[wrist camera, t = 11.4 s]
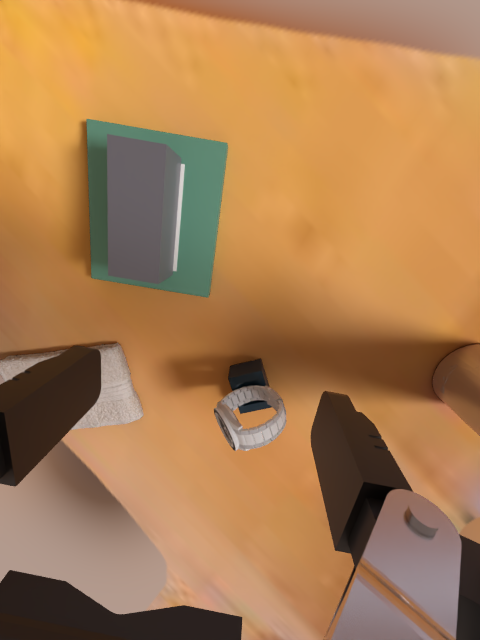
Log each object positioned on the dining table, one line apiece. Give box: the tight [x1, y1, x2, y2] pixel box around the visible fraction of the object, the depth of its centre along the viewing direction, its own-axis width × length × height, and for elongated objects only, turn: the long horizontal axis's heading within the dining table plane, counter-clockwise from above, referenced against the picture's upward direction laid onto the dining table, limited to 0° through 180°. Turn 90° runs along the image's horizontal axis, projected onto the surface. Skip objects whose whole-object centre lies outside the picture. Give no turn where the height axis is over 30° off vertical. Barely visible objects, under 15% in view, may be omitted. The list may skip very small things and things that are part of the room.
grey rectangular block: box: [107, 134, 181, 284], centre depth 27 cm, size 12×5×5 cm, turn 171°
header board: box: [87, 119, 228, 297], centre depth 28 cm, size 14×16×5 cm
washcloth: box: [0, 343, 144, 430], centre depth 38 cm, size 12×18×3 cm, turn 99°
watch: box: [214, 359, 286, 451], centre depth 32 cm, size 6×8×11 cm
